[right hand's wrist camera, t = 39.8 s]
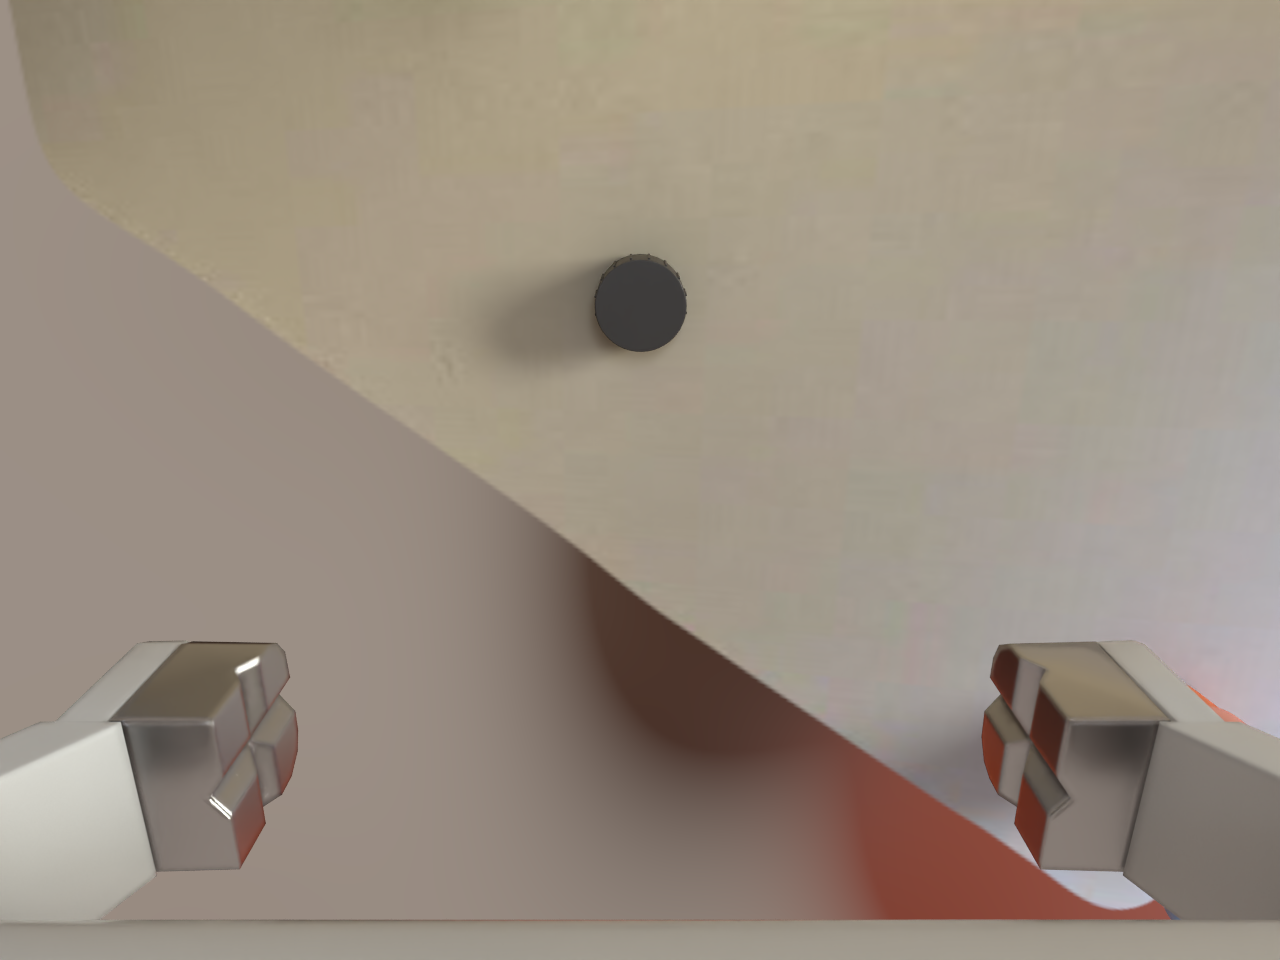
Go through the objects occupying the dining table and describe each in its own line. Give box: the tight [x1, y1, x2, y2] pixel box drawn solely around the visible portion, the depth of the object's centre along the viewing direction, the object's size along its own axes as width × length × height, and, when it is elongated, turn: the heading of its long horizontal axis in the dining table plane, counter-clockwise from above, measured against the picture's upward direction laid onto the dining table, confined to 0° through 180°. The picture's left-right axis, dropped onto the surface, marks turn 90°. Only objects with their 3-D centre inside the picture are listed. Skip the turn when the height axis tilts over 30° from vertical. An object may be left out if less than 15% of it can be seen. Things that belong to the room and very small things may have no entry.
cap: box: [595, 254, 687, 352], centre depth 38 cm, size 4×4×2 cm
